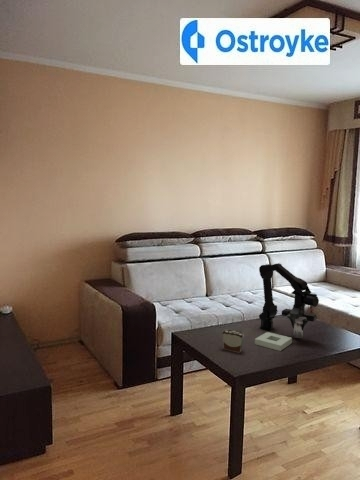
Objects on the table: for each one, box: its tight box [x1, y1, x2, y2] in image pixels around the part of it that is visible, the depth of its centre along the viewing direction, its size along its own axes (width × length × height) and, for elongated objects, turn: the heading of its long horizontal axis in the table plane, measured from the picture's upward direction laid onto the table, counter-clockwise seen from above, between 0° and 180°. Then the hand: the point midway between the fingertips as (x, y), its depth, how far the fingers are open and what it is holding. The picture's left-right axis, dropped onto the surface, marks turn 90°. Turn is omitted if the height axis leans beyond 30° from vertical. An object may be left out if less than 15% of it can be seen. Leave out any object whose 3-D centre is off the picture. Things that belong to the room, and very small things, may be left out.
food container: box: [221, 328, 245, 354], centre depth 209 cm, size 12×6×10 cm, turn 59°
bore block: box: [254, 331, 293, 352], centre depth 218 cm, size 15×15×3 cm
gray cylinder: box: [292, 320, 304, 339], centre depth 225 cm, size 5×5×8 cm
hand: (298, 329), depth 225 cm, fingers closed on gray cylinder, 5 cm apart
